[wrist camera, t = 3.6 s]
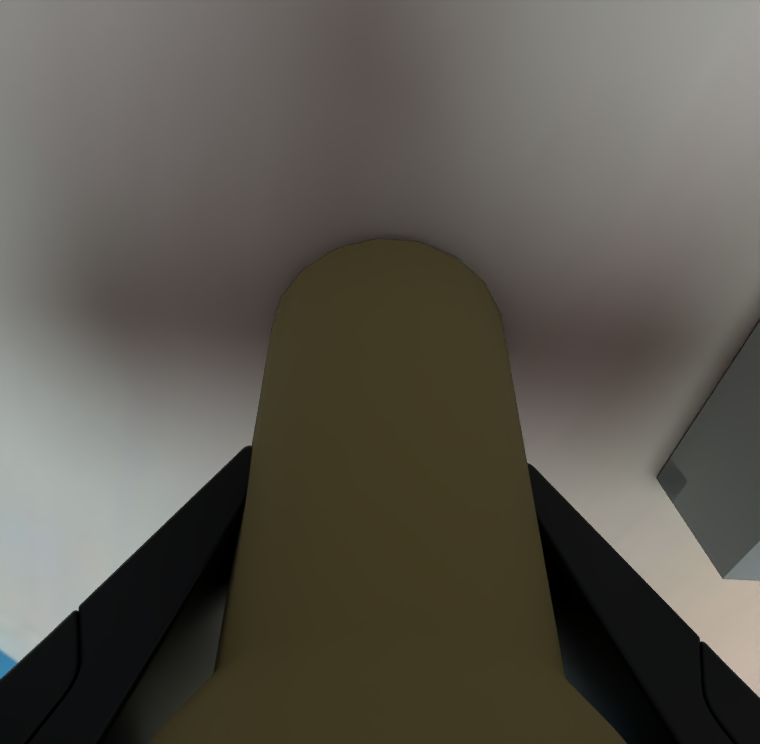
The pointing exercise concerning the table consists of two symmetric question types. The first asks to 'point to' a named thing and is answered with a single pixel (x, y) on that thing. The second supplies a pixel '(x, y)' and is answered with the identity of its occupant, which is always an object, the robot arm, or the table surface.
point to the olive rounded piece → (388, 528)
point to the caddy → (724, 470)
